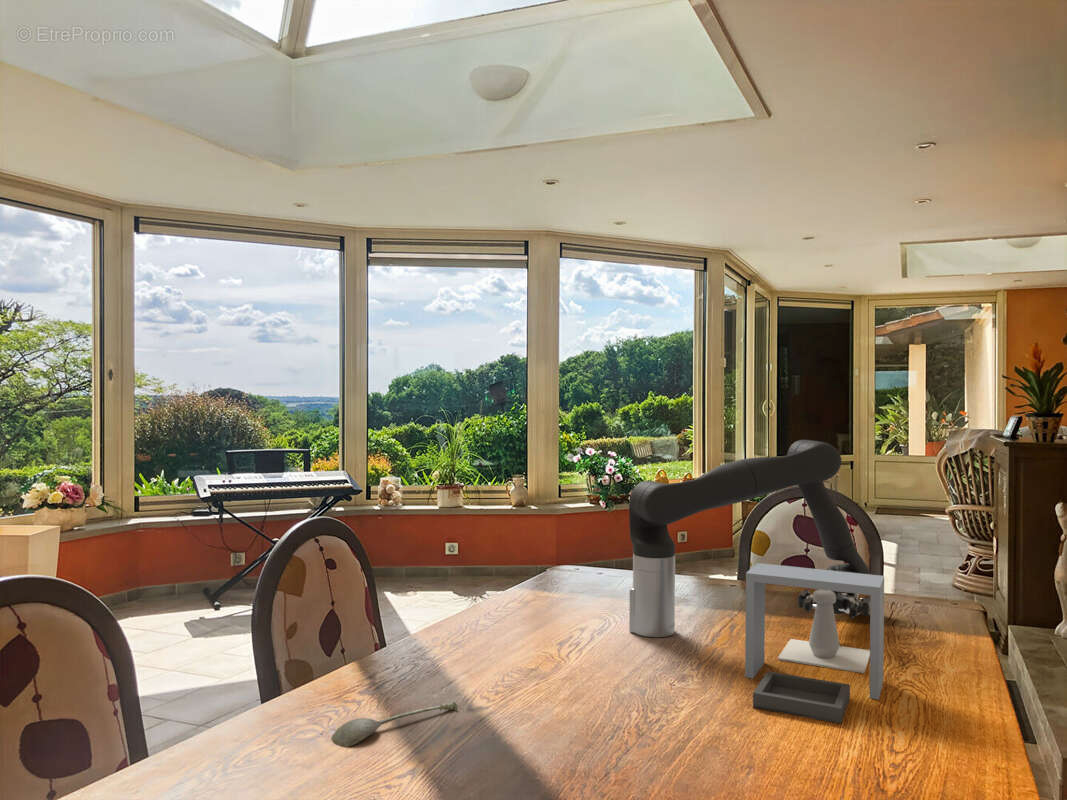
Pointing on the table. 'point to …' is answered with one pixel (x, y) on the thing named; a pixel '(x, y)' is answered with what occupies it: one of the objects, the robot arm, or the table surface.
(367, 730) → the soupspoon
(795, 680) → the pit box
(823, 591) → the salt shaker
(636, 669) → the table surface
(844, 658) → the pad
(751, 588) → the gate
